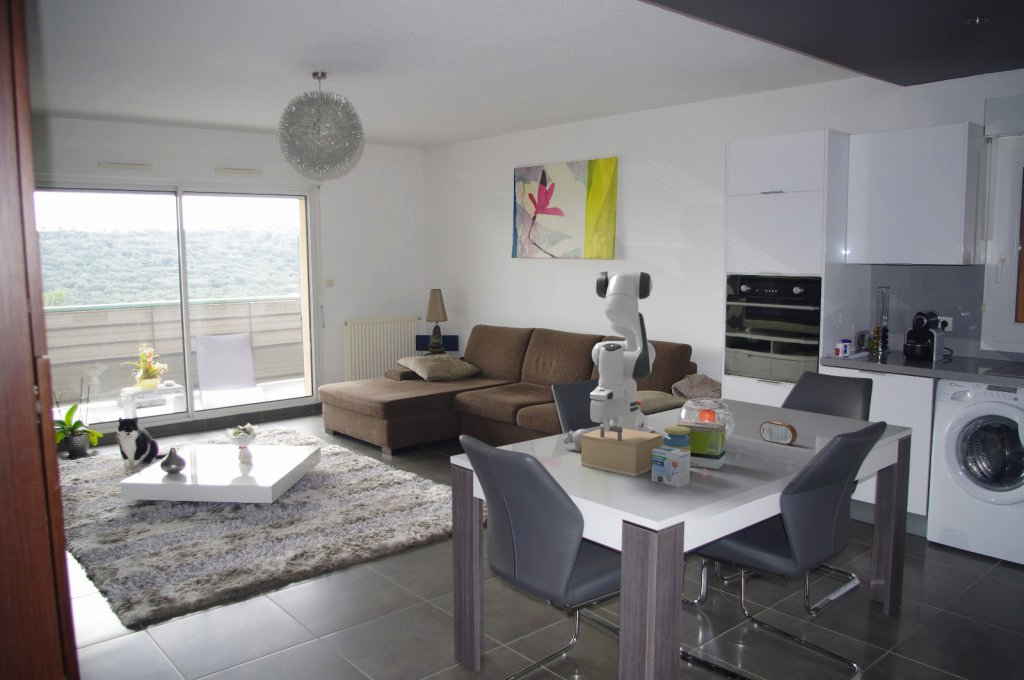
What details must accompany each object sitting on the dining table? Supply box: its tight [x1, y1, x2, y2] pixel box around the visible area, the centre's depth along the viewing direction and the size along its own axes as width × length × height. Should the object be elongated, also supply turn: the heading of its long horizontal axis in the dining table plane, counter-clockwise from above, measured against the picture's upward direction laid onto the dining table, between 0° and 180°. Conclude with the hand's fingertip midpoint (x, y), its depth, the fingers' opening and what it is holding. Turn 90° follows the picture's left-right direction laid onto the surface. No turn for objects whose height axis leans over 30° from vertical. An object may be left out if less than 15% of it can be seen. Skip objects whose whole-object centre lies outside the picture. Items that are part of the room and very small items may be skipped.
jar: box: [663, 425, 691, 454], centre depth 251 cm, size 9×9×15 cm
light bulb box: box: [651, 445, 691, 488], centre depth 240 cm, size 11×7×11 cm, turn 45°
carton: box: [580, 436, 663, 477], centre depth 260 cm, size 18×22×10 cm
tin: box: [759, 419, 798, 446], centre depth 290 cm, size 15×3×8 cm, turn 40°
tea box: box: [676, 419, 726, 470], centre depth 260 cm, size 15×10×15 cm, turn 59°
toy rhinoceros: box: [562, 428, 590, 453], centre depth 281 cm, size 7×12×8 cm, turn 57°
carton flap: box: [581, 423, 663, 447], centre depth 259 cm, size 18×22×5 cm
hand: (610, 430), depth 253 cm, fingers closed on carton flap, 2 cm apart
